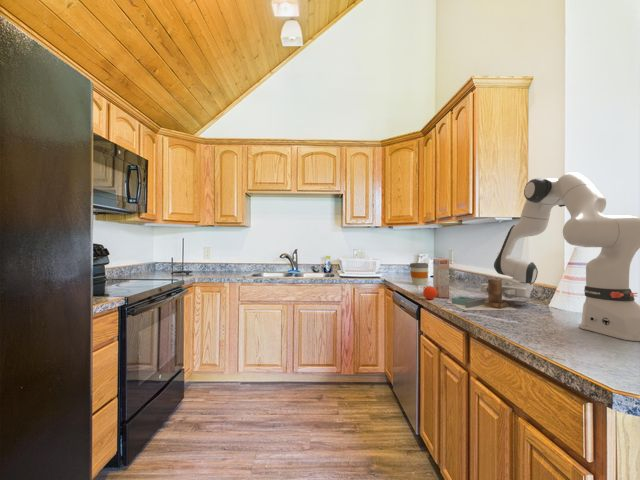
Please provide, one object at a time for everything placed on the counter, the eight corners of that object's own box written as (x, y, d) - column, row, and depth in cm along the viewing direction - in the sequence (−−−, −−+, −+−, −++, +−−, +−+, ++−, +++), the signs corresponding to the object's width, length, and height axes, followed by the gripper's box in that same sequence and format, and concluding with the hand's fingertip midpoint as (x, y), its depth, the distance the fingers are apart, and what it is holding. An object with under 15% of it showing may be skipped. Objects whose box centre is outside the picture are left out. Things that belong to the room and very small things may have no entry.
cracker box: (449, 298, 171) (449, 259, 171) (438, 298, 172) (437, 259, 172) (443, 294, 184) (443, 258, 185) (433, 294, 185) (432, 258, 186)
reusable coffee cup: (407, 284, 227) (407, 263, 227) (414, 282, 237) (414, 262, 237) (424, 286, 219) (424, 264, 219) (431, 284, 229) (430, 263, 229)
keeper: (508, 306, 142) (508, 302, 142) (500, 308, 138) (500, 304, 138) (492, 304, 148) (492, 300, 148) (484, 306, 144) (484, 301, 144)
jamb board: (518, 311, 136) (518, 303, 136) (464, 312, 137) (464, 304, 137) (493, 303, 156) (492, 296, 156) (446, 303, 157) (446, 296, 157)
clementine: (418, 298, 170) (418, 285, 170) (427, 297, 173) (427, 284, 173) (431, 301, 163) (431, 287, 163) (439, 299, 167) (439, 286, 167)
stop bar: (502, 306, 143) (501, 279, 143) (497, 307, 141) (497, 280, 141) (492, 305, 146) (492, 279, 146) (488, 306, 144) (488, 279, 144)
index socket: (476, 303, 150) (475, 298, 150) (466, 305, 145) (466, 300, 145) (460, 301, 156) (460, 296, 156) (451, 303, 151) (451, 298, 152)
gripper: (488, 279, 160) (473, 281, 152) (533, 283, 143) (519, 286, 135) (488, 292, 160) (473, 295, 152) (534, 297, 143) (519, 301, 135)
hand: (495, 291), depth 144 cm, fingers open, 8 cm apart
